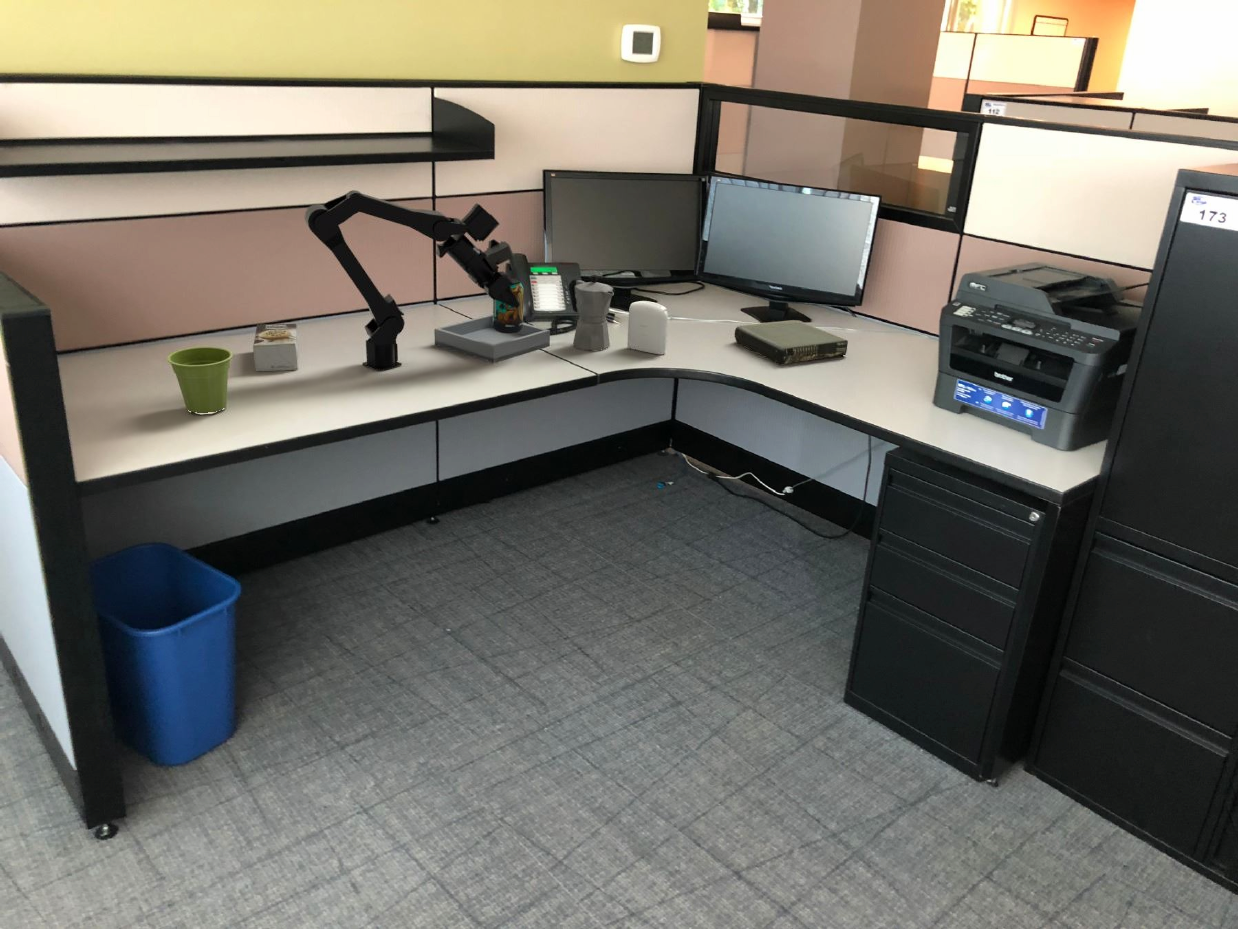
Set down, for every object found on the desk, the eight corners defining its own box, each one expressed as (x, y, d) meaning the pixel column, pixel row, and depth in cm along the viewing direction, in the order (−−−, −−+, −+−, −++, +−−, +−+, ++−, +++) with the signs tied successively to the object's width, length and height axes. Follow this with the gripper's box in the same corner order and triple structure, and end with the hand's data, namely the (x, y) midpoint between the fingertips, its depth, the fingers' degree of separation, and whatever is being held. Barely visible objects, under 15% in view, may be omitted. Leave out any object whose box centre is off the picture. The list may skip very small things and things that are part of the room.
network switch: (788, 370, 246) (790, 350, 244) (724, 345, 263) (725, 326, 261) (853, 357, 259) (855, 338, 257) (788, 333, 276) (790, 316, 274)
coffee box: (252, 344, 221) (255, 323, 235) (255, 372, 223) (258, 350, 237) (296, 342, 223) (296, 322, 237) (298, 370, 226) (298, 348, 240)
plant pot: (164, 407, 201) (156, 353, 196) (222, 395, 209) (216, 343, 204) (189, 425, 193) (182, 368, 189) (248, 412, 201) (243, 357, 197)
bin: (493, 362, 238) (493, 346, 236) (434, 344, 249) (434, 328, 247) (549, 345, 253) (550, 330, 251) (491, 329, 264) (491, 314, 262)
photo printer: (624, 348, 254) (626, 300, 249) (632, 344, 258) (635, 296, 253) (660, 356, 250) (663, 307, 245) (668, 352, 253) (672, 303, 248)
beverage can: (516, 335, 236) (517, 284, 232) (488, 331, 238) (488, 281, 233) (526, 328, 242) (527, 278, 238) (499, 324, 244) (500, 275, 239)
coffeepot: (623, 348, 254) (627, 277, 247) (596, 355, 248) (599, 282, 240) (581, 334, 264) (583, 265, 256) (554, 340, 257) (556, 270, 250)
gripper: (504, 238, 222) (550, 287, 230) (481, 223, 237) (525, 268, 246) (469, 275, 222) (516, 322, 230) (448, 257, 237) (493, 301, 246)
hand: (513, 302), depth 238 cm, fingers closed on beverage can, 7 cm apart
